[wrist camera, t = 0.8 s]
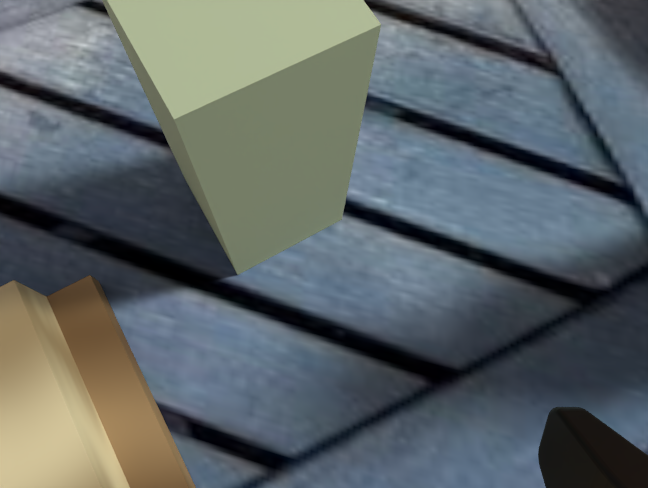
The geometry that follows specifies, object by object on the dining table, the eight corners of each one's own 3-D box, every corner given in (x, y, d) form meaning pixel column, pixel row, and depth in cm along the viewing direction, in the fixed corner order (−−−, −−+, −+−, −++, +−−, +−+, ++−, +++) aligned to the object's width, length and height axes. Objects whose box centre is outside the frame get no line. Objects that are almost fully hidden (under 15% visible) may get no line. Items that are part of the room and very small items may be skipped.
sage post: (341, 219, 23) (380, 24, 12) (237, 275, 22) (173, 119, 11) (285, 129, 25) (273, -123, 13) (184, 178, 24) (79, -51, 12)
